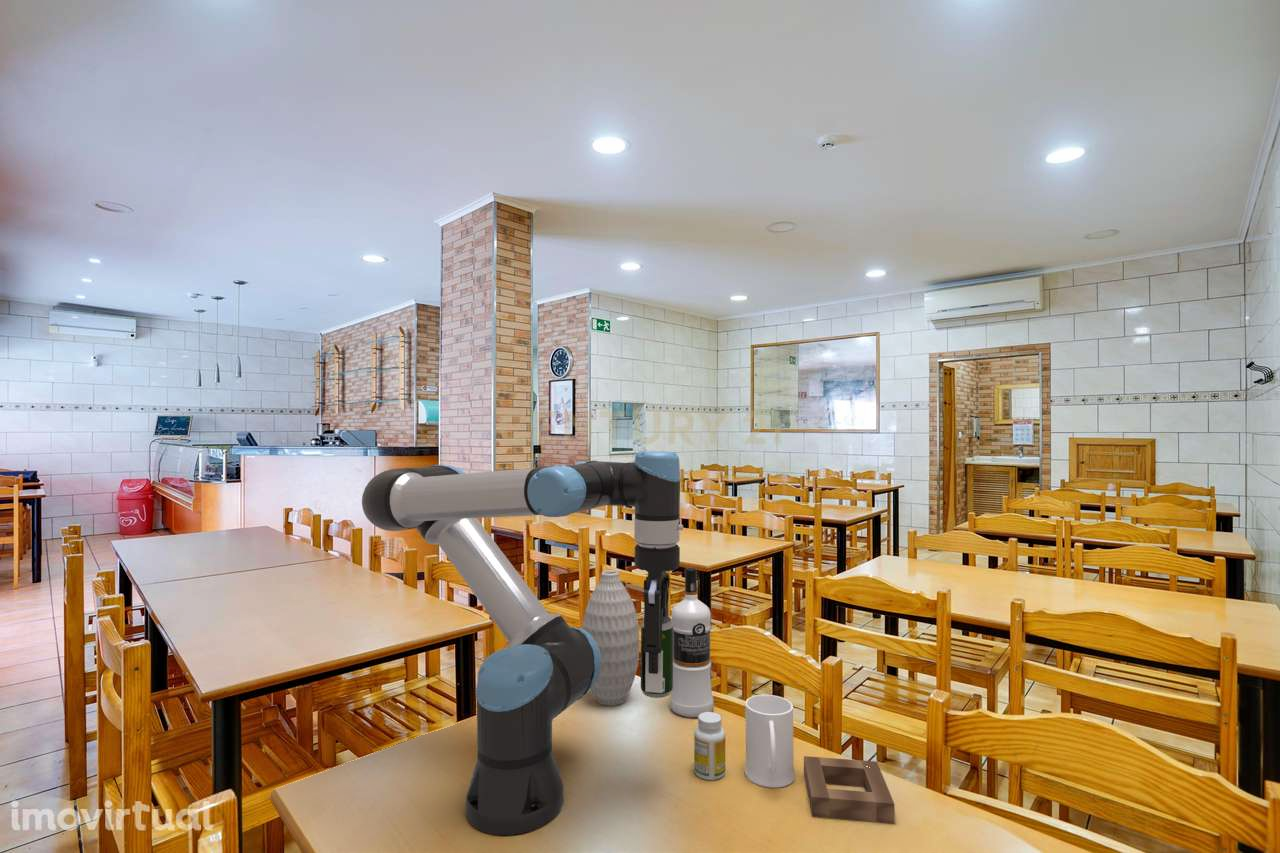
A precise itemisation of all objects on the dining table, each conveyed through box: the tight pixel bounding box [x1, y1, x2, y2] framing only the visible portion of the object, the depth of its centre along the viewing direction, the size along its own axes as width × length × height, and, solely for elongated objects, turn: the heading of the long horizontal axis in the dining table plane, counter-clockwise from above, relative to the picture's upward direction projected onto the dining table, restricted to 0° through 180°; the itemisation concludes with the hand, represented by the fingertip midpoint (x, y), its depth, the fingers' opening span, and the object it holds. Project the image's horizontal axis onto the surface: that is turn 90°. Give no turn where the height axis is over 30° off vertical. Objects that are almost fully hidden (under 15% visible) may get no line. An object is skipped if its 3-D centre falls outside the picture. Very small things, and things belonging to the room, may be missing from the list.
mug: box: [744, 694, 796, 789], centre depth 104 cm, size 12×8×12 cm
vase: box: [581, 569, 640, 707], centre depth 136 cm, size 13×13×28 cm
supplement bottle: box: [693, 711, 726, 781], centre depth 106 cm, size 5×5×10 cm
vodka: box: [669, 567, 715, 718], centre depth 131 cm, size 9×9×30 cm
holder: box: [803, 755, 896, 825], centre depth 99 cm, size 12×12×3 cm
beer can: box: [640, 615, 673, 699], centre depth 102 cm, size 5×5×12 cm
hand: (656, 683), depth 102 cm, fingers closed on beer can, 5 cm apart
